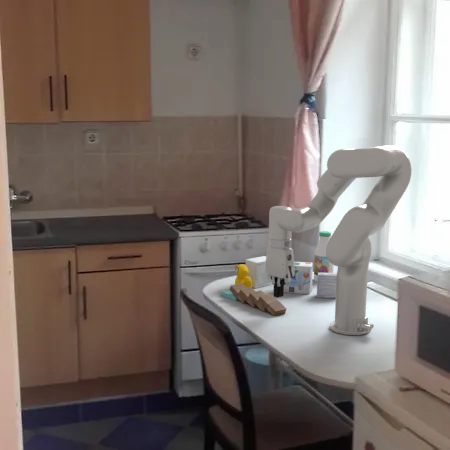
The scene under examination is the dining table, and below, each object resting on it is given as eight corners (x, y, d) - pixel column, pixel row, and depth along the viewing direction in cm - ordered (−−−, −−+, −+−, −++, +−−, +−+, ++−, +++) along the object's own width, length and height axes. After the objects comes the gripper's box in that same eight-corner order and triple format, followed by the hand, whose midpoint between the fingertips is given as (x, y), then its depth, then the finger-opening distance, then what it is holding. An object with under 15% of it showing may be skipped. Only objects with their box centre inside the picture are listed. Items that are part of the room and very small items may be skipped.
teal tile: (235, 302, 249) (220, 296, 256) (246, 300, 252) (231, 294, 259) (235, 297, 249) (220, 291, 256) (246, 294, 252) (231, 289, 259)
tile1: (286, 308, 235) (270, 293, 240) (275, 311, 232) (259, 295, 237) (285, 313, 235) (269, 298, 241) (274, 316, 232) (258, 300, 238)
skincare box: (255, 289, 265) (256, 262, 263) (244, 285, 270) (244, 259, 268) (274, 284, 272) (275, 258, 270) (263, 281, 277) (263, 255, 275)
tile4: (255, 296, 248) (241, 283, 254) (244, 298, 245) (230, 285, 251) (254, 301, 249) (240, 288, 255) (243, 303, 246) (229, 290, 252)
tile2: (276, 304, 239) (260, 290, 245) (265, 307, 236) (249, 292, 242) (274, 309, 240) (259, 294, 246) (263, 312, 237) (248, 297, 243)
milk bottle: (322, 277, 284) (324, 229, 280) (336, 281, 278) (339, 232, 274) (309, 280, 279) (311, 231, 275) (323, 284, 273) (325, 234, 269)
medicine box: (338, 295, 258) (339, 272, 256) (338, 298, 254) (339, 275, 252) (316, 294, 259) (317, 272, 257) (317, 298, 254) (317, 275, 253)
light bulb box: (281, 292, 261) (282, 264, 259) (284, 287, 268) (285, 260, 266) (310, 294, 259) (311, 266, 257) (312, 289, 265) (313, 262, 263)
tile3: (265, 300, 243) (251, 287, 249) (254, 303, 240) (240, 289, 246) (264, 305, 244) (249, 291, 250) (253, 307, 241) (238, 293, 247)
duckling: (229, 287, 266) (229, 262, 264) (241, 286, 269) (242, 261, 267) (242, 295, 256) (243, 269, 254) (255, 293, 258) (256, 267, 257)
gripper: (303, 246, 227) (302, 300, 230) (273, 238, 238) (272, 289, 242) (286, 248, 222) (285, 303, 226) (256, 240, 234) (255, 293, 237)
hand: (278, 296), depth 234 cm, fingers closed
